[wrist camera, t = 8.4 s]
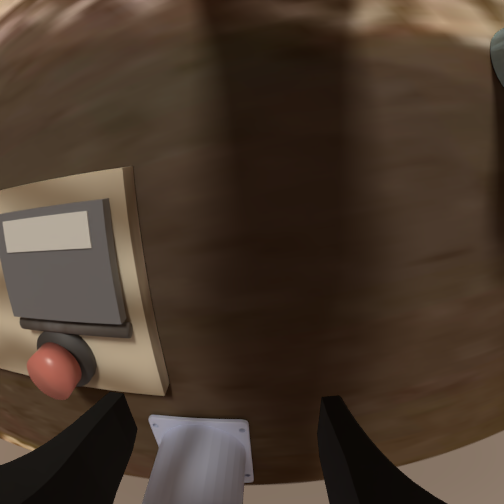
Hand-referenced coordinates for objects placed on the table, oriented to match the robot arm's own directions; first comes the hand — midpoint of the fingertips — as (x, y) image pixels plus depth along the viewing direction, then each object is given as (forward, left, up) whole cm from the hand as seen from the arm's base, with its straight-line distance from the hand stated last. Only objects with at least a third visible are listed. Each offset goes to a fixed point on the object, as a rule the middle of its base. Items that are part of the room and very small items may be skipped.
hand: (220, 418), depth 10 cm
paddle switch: (+3, +11, -8) cm, 14 cm away
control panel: (+1, +15, -9) cm, 18 cm away
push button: (-4, +12, -7) cm, 15 cm away
